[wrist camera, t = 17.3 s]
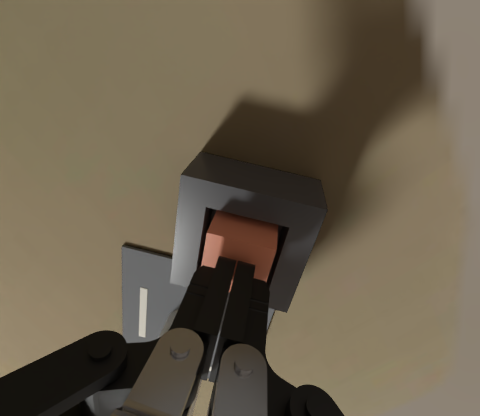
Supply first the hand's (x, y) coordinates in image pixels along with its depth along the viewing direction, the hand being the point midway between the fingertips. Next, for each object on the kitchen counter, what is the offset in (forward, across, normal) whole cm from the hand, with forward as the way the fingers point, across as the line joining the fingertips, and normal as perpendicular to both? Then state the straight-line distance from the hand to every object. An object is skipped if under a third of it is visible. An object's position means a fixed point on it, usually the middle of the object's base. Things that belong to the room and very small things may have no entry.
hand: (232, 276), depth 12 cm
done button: (+2, 0, 0) cm, 2 cm away
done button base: (+5, 0, 0) cm, 5 cm away
